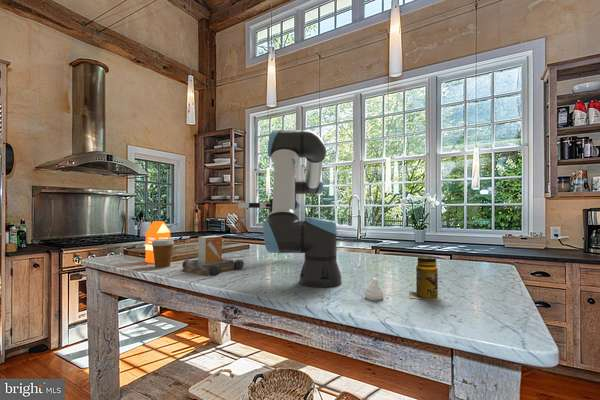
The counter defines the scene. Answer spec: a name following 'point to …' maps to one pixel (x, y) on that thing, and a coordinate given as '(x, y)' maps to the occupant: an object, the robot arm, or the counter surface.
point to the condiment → (426, 279)
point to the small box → (209, 249)
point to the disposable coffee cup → (162, 252)
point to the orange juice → (155, 237)
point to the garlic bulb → (374, 290)
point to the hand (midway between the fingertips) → (249, 205)
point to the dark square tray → (212, 266)
